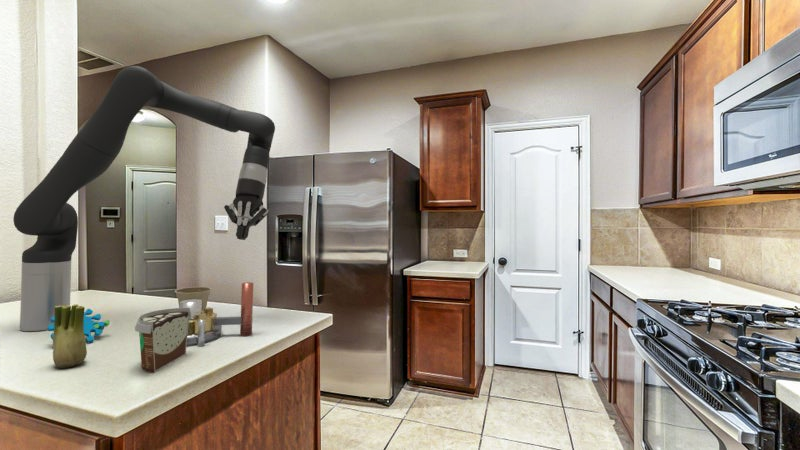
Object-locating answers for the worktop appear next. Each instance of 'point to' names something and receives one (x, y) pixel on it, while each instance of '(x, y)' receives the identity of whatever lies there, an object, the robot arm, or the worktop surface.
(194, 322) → the reddish rod with blocks
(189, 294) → the flower pot
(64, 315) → the fennel bulb
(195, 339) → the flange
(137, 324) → the food container
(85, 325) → the blue spiky virus model
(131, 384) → the worktop surface
